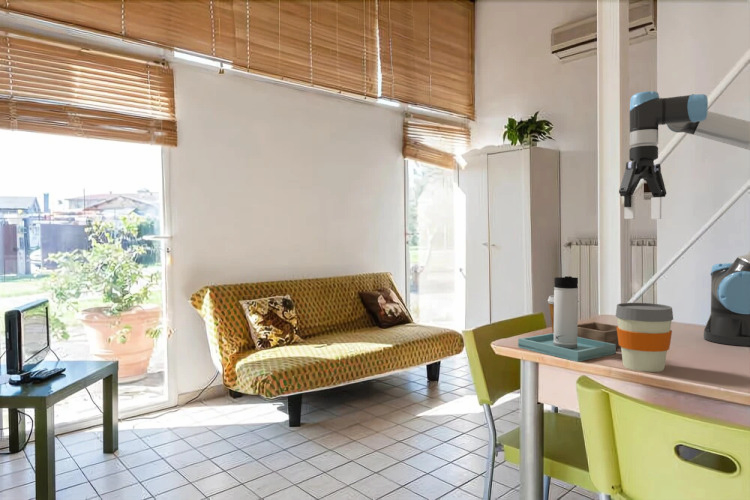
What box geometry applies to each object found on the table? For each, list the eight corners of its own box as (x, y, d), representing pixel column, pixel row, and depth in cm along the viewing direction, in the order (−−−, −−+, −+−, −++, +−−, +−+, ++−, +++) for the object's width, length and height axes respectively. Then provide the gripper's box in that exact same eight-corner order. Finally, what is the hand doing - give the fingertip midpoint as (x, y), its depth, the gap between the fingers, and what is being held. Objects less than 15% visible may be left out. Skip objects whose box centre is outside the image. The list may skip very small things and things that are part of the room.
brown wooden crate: (630, 344, 152) (630, 327, 151) (604, 350, 145) (604, 332, 145) (593, 337, 162) (593, 321, 162) (568, 342, 155) (568, 326, 155)
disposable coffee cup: (580, 336, 164) (581, 298, 163) (549, 335, 165) (549, 298, 165) (575, 331, 173) (575, 295, 172) (545, 330, 175) (545, 294, 174)
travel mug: (556, 349, 143) (556, 276, 142) (551, 343, 149) (552, 274, 148) (579, 349, 142) (580, 276, 141) (574, 344, 148) (575, 274, 147)
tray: (615, 353, 141) (615, 344, 141) (577, 361, 133) (577, 352, 133) (555, 340, 158) (555, 332, 158) (518, 347, 150) (518, 338, 150)
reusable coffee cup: (677, 375, 119) (678, 311, 119) (617, 371, 124) (617, 308, 123) (667, 362, 131) (668, 303, 131) (613, 358, 135) (613, 301, 135)
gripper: (655, 151, 162) (654, 219, 163) (606, 145, 149) (605, 219, 150) (679, 147, 156) (678, 218, 157) (630, 141, 143) (630, 218, 144)
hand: (643, 219), depth 153 cm, fingers open, 13 cm apart
